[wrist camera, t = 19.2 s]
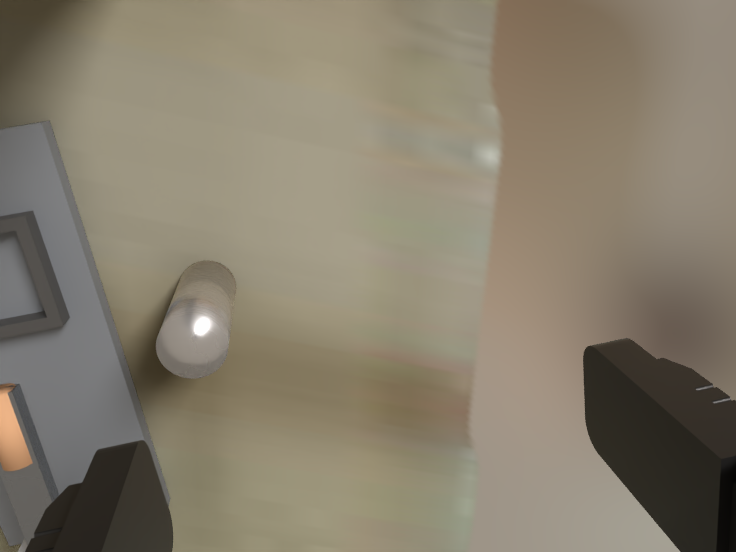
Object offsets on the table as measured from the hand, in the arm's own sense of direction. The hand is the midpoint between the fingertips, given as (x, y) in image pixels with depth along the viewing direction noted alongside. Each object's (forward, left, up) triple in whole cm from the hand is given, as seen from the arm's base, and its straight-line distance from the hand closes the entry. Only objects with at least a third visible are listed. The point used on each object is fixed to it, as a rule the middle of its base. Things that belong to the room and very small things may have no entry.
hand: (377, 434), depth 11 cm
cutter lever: (+19, -21, -28) cm, 40 cm away
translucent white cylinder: (+8, -8, -34) cm, 36 cm away
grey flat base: (+10, -21, -34) cm, 41 cm away
